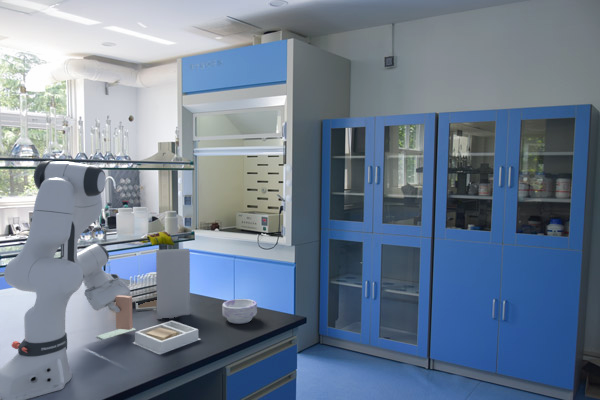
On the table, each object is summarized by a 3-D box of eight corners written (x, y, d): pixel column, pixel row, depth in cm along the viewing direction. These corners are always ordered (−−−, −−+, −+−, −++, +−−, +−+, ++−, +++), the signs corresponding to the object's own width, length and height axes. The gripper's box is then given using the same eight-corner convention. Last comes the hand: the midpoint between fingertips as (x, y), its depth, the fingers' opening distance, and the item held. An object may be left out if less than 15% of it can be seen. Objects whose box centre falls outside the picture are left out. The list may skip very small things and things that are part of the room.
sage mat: (116, 345, 171) (116, 344, 171) (96, 337, 180) (96, 335, 180) (148, 335, 182) (148, 334, 182) (128, 327, 191) (128, 326, 191)
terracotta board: (129, 330, 180) (129, 297, 179) (116, 328, 181) (115, 296, 180) (132, 328, 182) (132, 296, 181) (119, 326, 183) (118, 295, 182)
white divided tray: (159, 357, 162) (159, 343, 162) (132, 345, 172) (131, 332, 172) (201, 341, 177) (201, 328, 177) (173, 331, 187) (173, 319, 187)
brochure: (188, 312, 211) (188, 248, 209) (189, 316, 206) (189, 250, 204) (156, 315, 207) (156, 250, 205) (156, 319, 202) (156, 252, 199)
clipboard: (173, 290, 245) (179, 307, 217) (173, 293, 245) (179, 310, 217) (135, 293, 238) (136, 310, 210) (135, 296, 238) (136, 314, 210)
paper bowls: (226, 314, 210) (226, 297, 210) (259, 315, 209) (259, 298, 208) (218, 325, 195) (218, 307, 194) (253, 327, 194) (253, 309, 193)
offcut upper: (163, 343, 167) (163, 337, 167) (145, 338, 171) (145, 333, 171) (177, 337, 173) (177, 331, 173) (159, 332, 178) (159, 327, 177)
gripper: (87, 285, 172) (110, 313, 171) (119, 273, 192) (141, 297, 190) (77, 296, 173) (100, 323, 172) (110, 283, 193) (131, 307, 192)
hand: (122, 310), depth 181 cm, fingers closed on terracotta board, 2 cm apart
